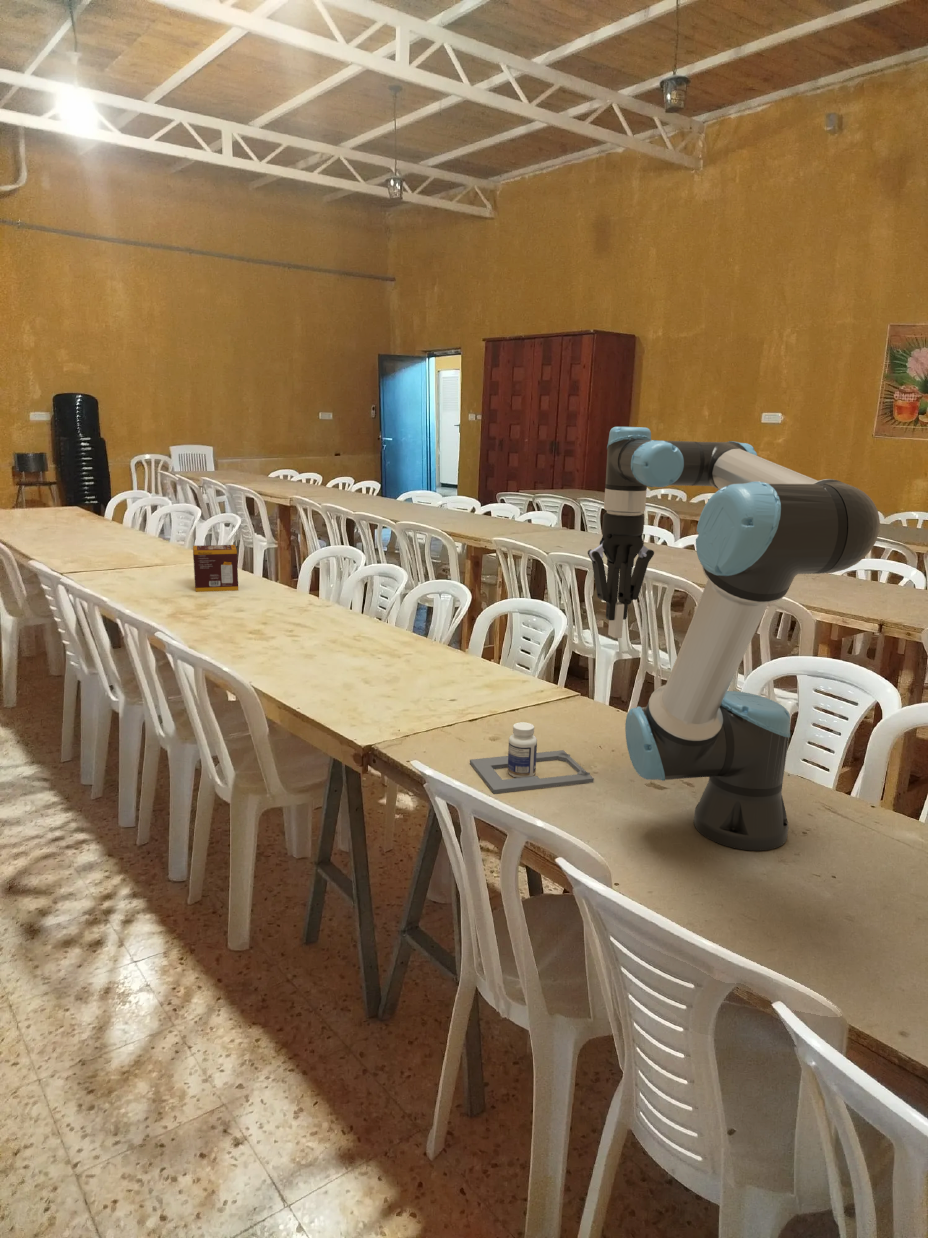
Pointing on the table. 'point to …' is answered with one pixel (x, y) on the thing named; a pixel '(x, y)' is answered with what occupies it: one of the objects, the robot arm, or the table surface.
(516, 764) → the pill bottle
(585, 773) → the keyhole board
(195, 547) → the supplement box
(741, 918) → the table surface
